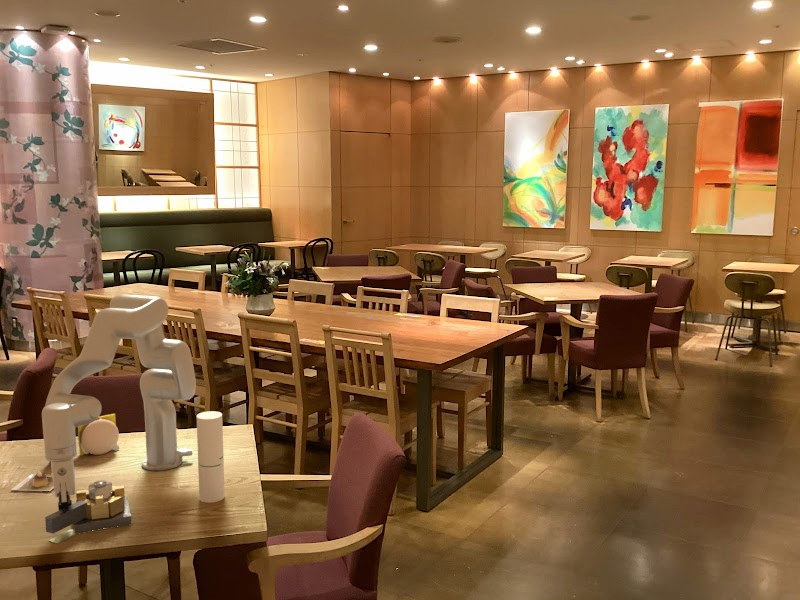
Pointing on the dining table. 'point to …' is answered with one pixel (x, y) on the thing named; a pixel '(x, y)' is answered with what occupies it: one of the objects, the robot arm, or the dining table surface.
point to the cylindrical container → (210, 456)
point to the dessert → (34, 481)
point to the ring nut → (86, 509)
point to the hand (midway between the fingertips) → (65, 516)
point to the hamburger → (98, 436)
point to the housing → (100, 523)
